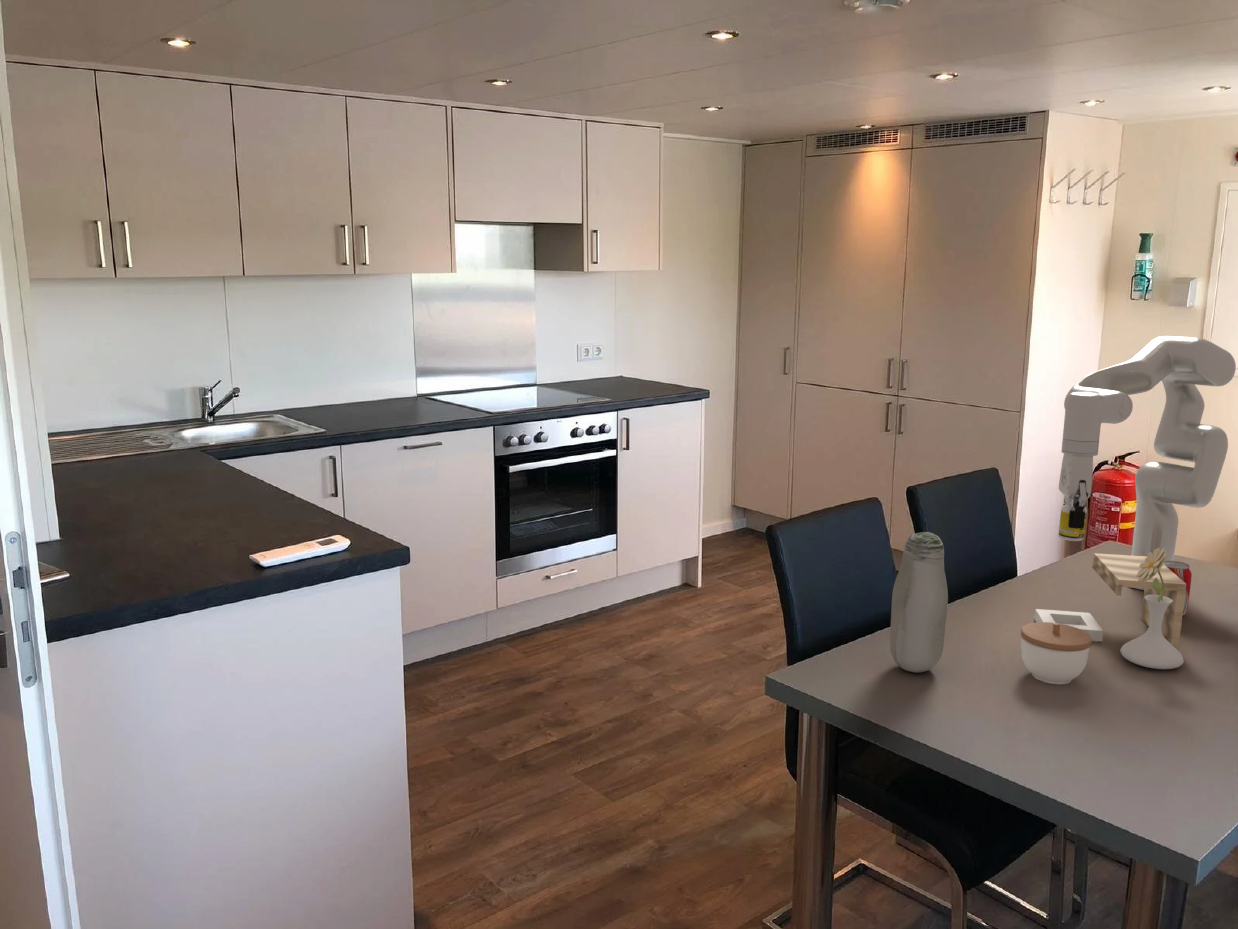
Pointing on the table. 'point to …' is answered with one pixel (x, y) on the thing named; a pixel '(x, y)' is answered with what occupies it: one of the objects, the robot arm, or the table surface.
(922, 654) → the grey bottle
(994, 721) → the table surface
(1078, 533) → the supplement bottle
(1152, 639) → the flower in vase
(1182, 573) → the soda can
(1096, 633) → the socket block
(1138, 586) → the small wooden stool
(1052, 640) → the lidded bowl
